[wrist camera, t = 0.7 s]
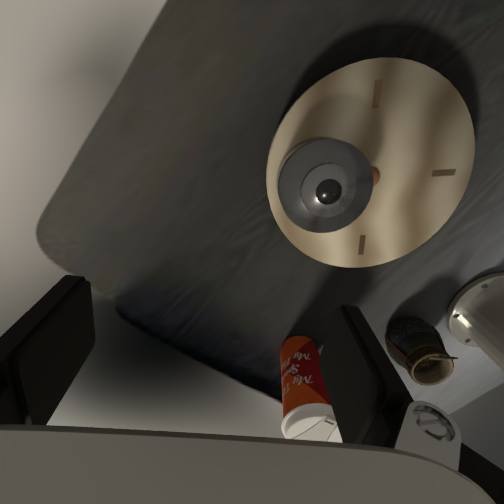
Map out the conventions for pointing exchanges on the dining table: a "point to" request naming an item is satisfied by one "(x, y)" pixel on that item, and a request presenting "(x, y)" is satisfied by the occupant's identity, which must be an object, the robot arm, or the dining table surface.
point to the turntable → (383, 156)
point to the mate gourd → (419, 350)
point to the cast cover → (324, 184)
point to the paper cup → (305, 394)
